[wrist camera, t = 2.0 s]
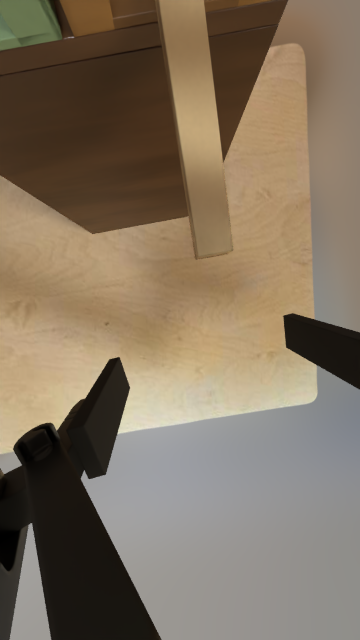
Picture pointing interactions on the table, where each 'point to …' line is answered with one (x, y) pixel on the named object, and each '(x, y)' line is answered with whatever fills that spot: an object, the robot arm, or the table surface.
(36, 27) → the tray
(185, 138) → the spoon
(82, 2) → the brown wooden open box
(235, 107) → the stand
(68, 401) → the table surface
